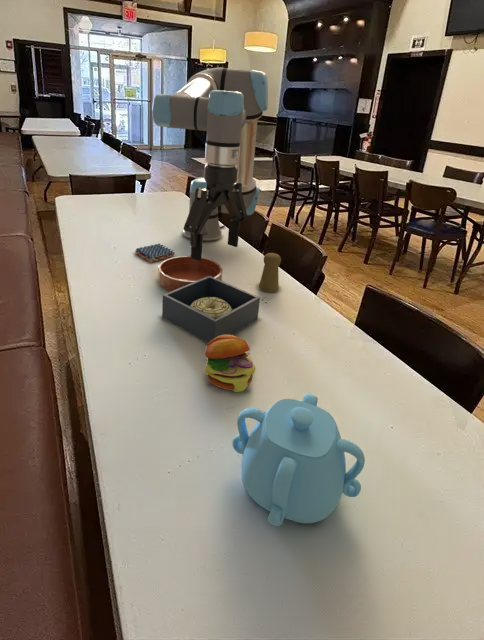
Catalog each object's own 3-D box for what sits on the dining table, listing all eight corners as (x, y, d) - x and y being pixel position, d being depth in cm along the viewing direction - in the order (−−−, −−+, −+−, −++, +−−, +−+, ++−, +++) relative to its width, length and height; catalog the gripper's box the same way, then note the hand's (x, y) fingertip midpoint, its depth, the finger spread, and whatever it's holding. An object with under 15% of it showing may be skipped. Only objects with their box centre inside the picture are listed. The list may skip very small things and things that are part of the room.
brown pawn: (256, 289, 125) (260, 255, 121) (262, 281, 130) (266, 249, 126) (275, 293, 123) (280, 259, 119) (280, 286, 128) (285, 253, 124)
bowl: (189, 264, 139) (190, 251, 138) (233, 282, 128) (235, 269, 127) (145, 280, 125) (145, 266, 124) (190, 302, 114) (191, 288, 112)
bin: (207, 296, 118) (209, 275, 116) (257, 319, 108) (260, 297, 106) (162, 317, 106) (162, 294, 103) (213, 346, 96) (215, 321, 93)
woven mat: (133, 253, 144) (133, 247, 144) (159, 247, 151) (159, 242, 150) (150, 263, 137) (150, 257, 137) (176, 256, 144) (176, 251, 143)
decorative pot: (224, 449, 68) (231, 382, 63) (312, 435, 73) (325, 371, 67) (257, 549, 54) (269, 472, 49) (365, 523, 58) (386, 450, 53)
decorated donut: (237, 314, 109) (239, 301, 108) (217, 332, 100) (218, 318, 99) (204, 302, 114) (205, 290, 112) (182, 318, 105) (182, 305, 103)
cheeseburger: (219, 401, 78) (216, 351, 77) (196, 379, 88) (193, 334, 86) (264, 387, 83) (262, 340, 81) (238, 367, 92) (235, 325, 91)
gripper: (195, 173, 81) (190, 270, 89) (266, 162, 100) (257, 244, 108) (169, 166, 86) (166, 260, 94) (241, 157, 104) (234, 236, 112)
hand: (215, 252), depth 101 cm, fingers open, 13 cm apart
